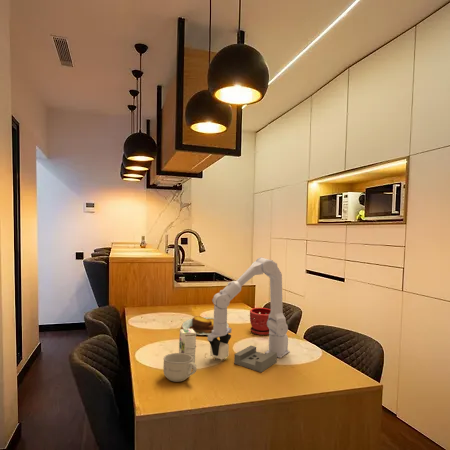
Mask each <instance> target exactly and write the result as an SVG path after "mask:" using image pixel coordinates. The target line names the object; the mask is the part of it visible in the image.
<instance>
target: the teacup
mask: <svg viewBox="0 0 450 450" xmlns="http://www.w3.org/2000/svg"><path fill="white" fill-rule="evenodd" d="M192 359H193V358H192V356H191V355H189V354H185V353H179V352H174V353H173V352H172V353H169V354H168V353H167V354H166V355H165V356H163V374H164V377H166V378H167V380H169V381H171V382H175V383H176V382H179V383H180V382H183V381H185V380H187V379H188V378H189V377H190V376H192V375H193V374H195V373H196V372H197V365H196V362H195V363H193V362H192ZM192 367H193V368H192Z"/></svg>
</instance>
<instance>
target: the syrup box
mask: <svg viewBox="0 0 450 450" xmlns="http://www.w3.org/2000/svg"><path fill="white" fill-rule="evenodd" d="M196 333H197V332H195V331H194V330H193V329H183V328H181V329H179V339H178V340H179V342H178V353H185V354H189V355H191V356H192V358H193V359H192V362H193V363H195V364H196V345H197V344H196V343H197V334H196ZM192 369H193V367H192Z"/></svg>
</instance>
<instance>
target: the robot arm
mask: <svg viewBox="0 0 450 450" xmlns="http://www.w3.org/2000/svg"><path fill="white" fill-rule="evenodd" d="M257 275H259V276H260V275H266V276H267V277H268V278H269V291H270V295H269V296H270V298H269V299H270V309H271V312H270V314H269V318H268V321H267V327H268V328H269V334H268V349H267V350H266V351H265V352H264V354H267V353H269V352H271V351H273V352H276V353H277V358H279V359H280V358H283V357H284V356H285V355H287V354H288V353H290V350H289V348H288V347H289V346H288V345H289V337H288V334H287V332H288V331H289V326H288V324H287V319H286V317H285V315H284V312H283V309H284V308H283V277H282V276H283V275H282V272H281V270H280V269H279V267H278V263H277V262H276V261H274V260H272V259H268V258H265V257H262V256H261V257H258V258H257V259H256V260H255V261H253V262H252V264H251V265H250V266H249V267H248V268H247V269H246V270H245V271H244V272H243V273H242V275H240V276H239V278H237V280H232V281H228V283H227V285H226V286H225V287H223V289H220V290H219V292H217V293H215V294H214V295H213V298H212V299H211V301H212V304H213V306H214V307H213V318H214V326H213V330H212V333H211V334H210V335H207V342H208V343H209V344H210V347H211V348H212V352H213V355H215V356H218V352H219V345H220V342H223V343H226V344H229V342H230V339H231V338H232V335H231V334H232V329H233V328H232V327H229V328H227V323H228V307H230V306H229V305H230V303H231V301H232V300H233V299H234V298H235V297H236V296H238V294H240V292H241V291H242V287H243V286H244V285H245V284H246V283H248V281H250V280H251V279H253V277H255V276H257ZM218 338H219V339H218Z"/></svg>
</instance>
